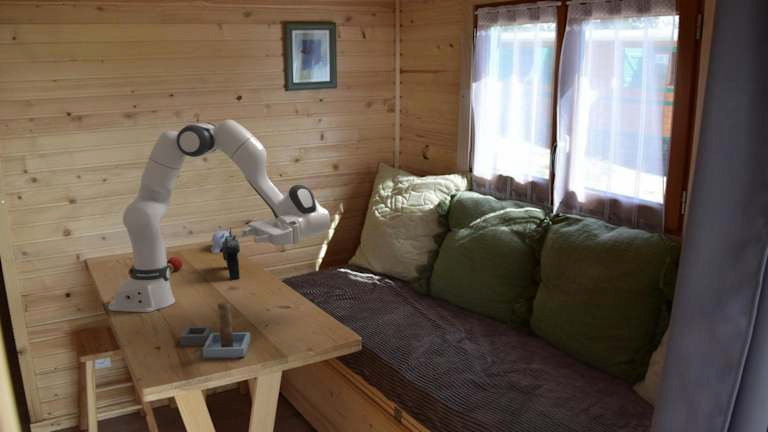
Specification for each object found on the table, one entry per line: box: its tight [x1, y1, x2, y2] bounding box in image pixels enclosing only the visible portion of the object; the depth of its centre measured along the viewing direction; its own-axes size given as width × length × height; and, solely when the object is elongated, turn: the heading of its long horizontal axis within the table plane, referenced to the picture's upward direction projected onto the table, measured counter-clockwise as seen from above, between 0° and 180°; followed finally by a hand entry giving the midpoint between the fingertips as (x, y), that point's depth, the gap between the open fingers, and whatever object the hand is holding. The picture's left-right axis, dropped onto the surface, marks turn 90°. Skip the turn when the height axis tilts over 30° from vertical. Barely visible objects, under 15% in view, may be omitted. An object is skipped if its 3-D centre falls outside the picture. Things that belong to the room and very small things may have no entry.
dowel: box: [217, 301, 233, 348], centre depth 213 cm, size 4×4×14 cm
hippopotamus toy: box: [210, 230, 229, 254], centre depth 320 cm, size 11×15×10 cm
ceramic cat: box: [222, 226, 241, 281], centre depth 284 cm, size 20×6×20 cm, turn 17°
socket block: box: [179, 325, 213, 347], centre depth 222 cm, size 8×8×3 cm
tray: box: [202, 331, 252, 360], centre depth 214 cm, size 12×12×3 cm
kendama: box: [167, 256, 183, 275], centre depth 287 cm, size 8×6×18 cm
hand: (247, 237), depth 227 cm, fingers open, 8 cm apart
